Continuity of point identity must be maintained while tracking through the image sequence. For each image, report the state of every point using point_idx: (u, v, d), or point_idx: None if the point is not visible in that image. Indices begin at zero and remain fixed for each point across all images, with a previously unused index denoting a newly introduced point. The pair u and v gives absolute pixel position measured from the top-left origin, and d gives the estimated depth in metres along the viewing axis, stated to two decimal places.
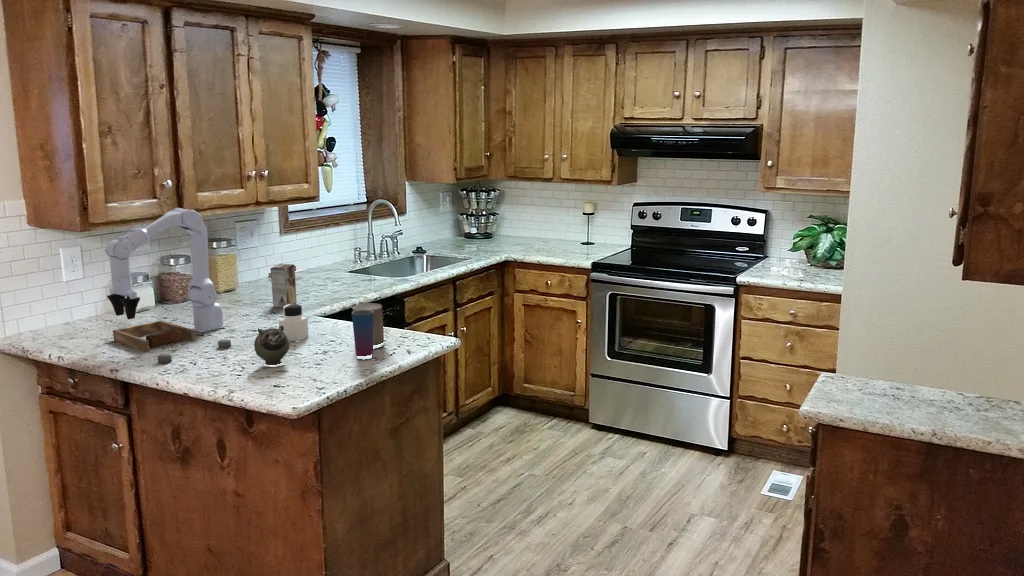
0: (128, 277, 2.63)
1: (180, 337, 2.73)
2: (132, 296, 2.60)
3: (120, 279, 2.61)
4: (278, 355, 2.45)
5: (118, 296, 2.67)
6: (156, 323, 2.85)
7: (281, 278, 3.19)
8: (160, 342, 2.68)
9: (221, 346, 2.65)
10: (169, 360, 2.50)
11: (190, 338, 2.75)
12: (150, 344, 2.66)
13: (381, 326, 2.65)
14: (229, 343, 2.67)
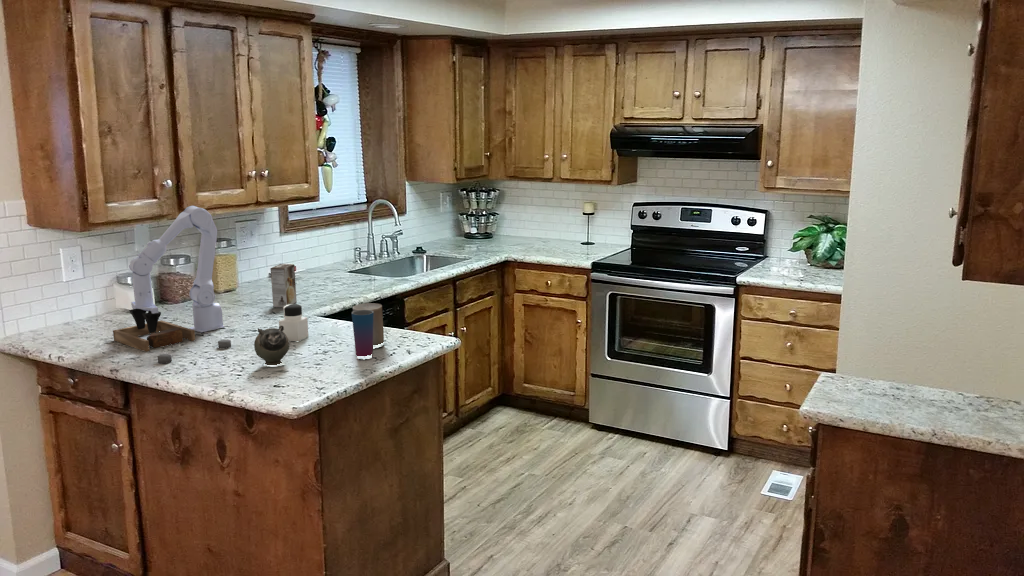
0: (150, 292, 2.74)
1: (181, 338, 2.73)
2: (154, 311, 2.71)
3: (142, 294, 2.72)
4: (278, 355, 2.45)
5: (140, 310, 2.78)
6: None
7: (281, 278, 3.19)
8: (161, 342, 2.67)
9: (221, 346, 2.65)
10: (169, 360, 2.50)
11: (190, 338, 2.75)
12: (151, 344, 2.66)
13: (381, 326, 2.65)
14: (229, 343, 2.67)
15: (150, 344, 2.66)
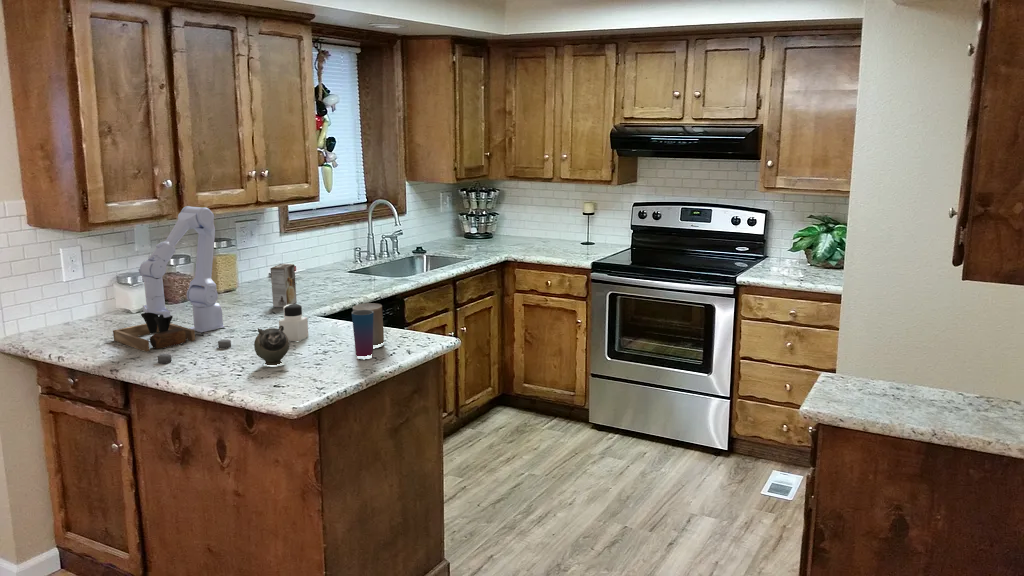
0: (161, 296, 2.69)
1: (184, 339, 2.71)
2: (166, 315, 2.66)
3: (153, 298, 2.67)
4: (278, 355, 2.45)
5: (152, 314, 2.73)
6: None
7: (281, 278, 3.19)
8: (164, 343, 2.66)
9: (221, 346, 2.65)
10: (169, 360, 2.50)
11: (190, 338, 2.75)
12: (154, 345, 2.64)
13: (381, 326, 2.65)
14: (229, 343, 2.67)
15: (153, 344, 2.65)
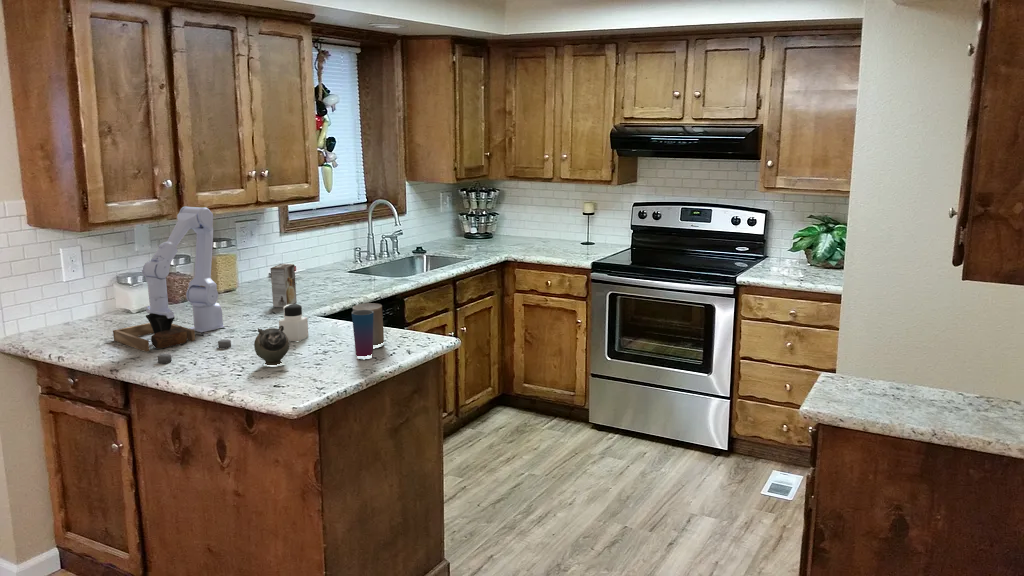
0: (165, 297, 2.68)
1: (185, 339, 2.71)
2: (169, 316, 2.65)
3: (157, 299, 2.66)
4: (278, 355, 2.45)
5: (156, 316, 2.72)
6: None
7: (281, 278, 3.19)
8: (165, 344, 2.66)
9: (221, 346, 2.65)
10: (169, 360, 2.50)
11: (190, 338, 2.75)
12: (155, 345, 2.64)
13: (381, 326, 2.65)
14: (229, 343, 2.67)
15: (154, 344, 2.64)
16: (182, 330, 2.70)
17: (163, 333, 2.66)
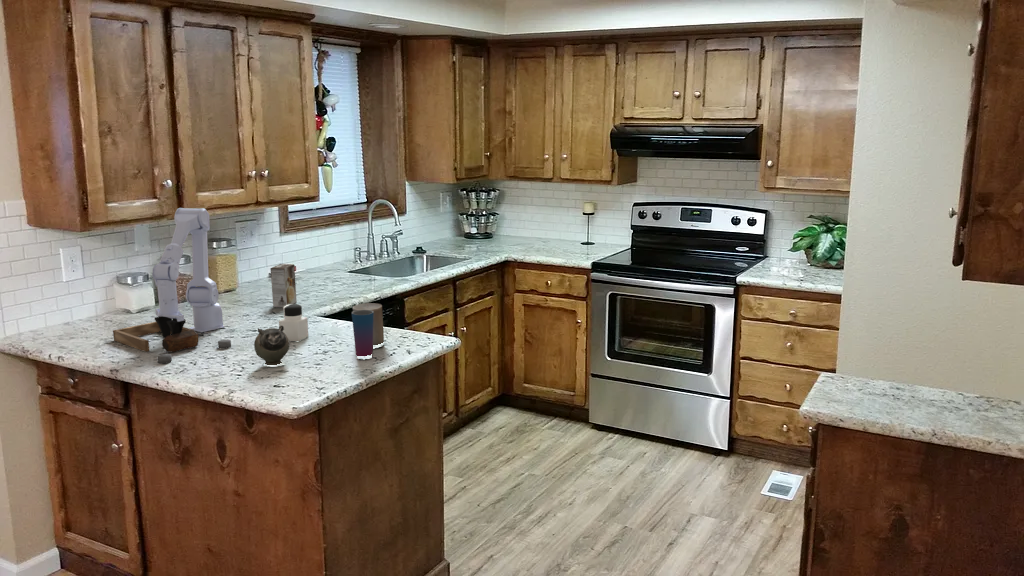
0: (175, 299, 2.64)
1: (196, 342, 2.67)
2: (179, 319, 2.61)
3: (167, 301, 2.62)
4: (278, 355, 2.45)
5: (165, 318, 2.68)
6: (156, 323, 2.85)
7: (281, 278, 3.19)
8: (176, 347, 2.62)
9: (221, 346, 2.65)
10: (169, 360, 2.50)
11: None
12: (166, 348, 2.60)
13: (381, 326, 2.65)
14: (229, 343, 2.67)
15: (165, 347, 2.60)
16: (193, 333, 2.66)
17: (174, 336, 2.61)
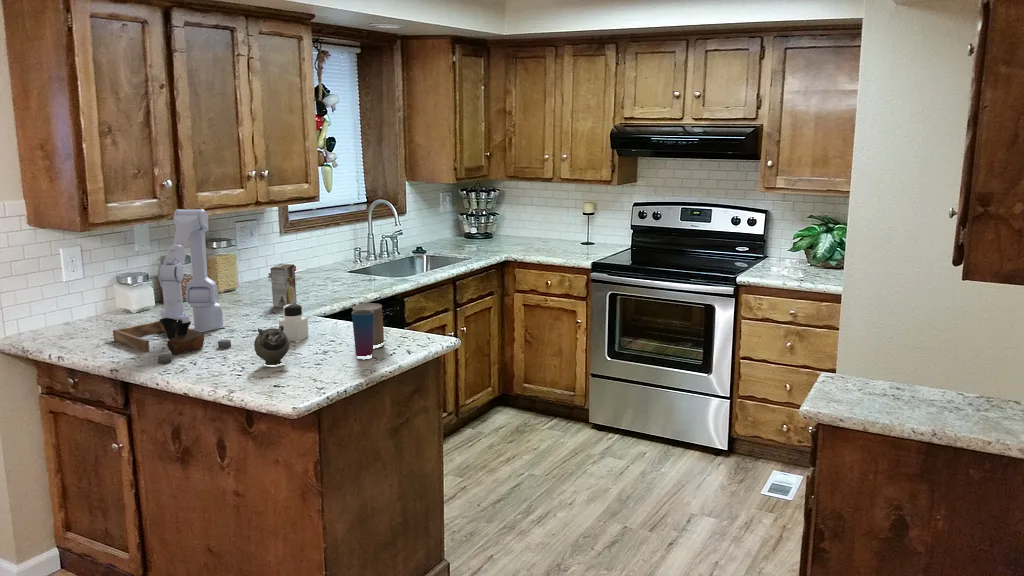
0: (180, 301, 2.62)
1: (202, 344, 2.65)
2: (185, 320, 2.59)
3: (172, 303, 2.60)
4: (278, 355, 2.45)
5: (170, 320, 2.66)
6: (156, 323, 2.85)
7: (281, 278, 3.19)
8: (181, 349, 2.60)
9: (221, 346, 2.65)
10: (169, 360, 2.50)
11: None
12: (171, 350, 2.58)
13: (381, 326, 2.65)
14: (229, 343, 2.67)
15: (170, 349, 2.58)
16: (199, 335, 2.64)
17: (180, 338, 2.60)
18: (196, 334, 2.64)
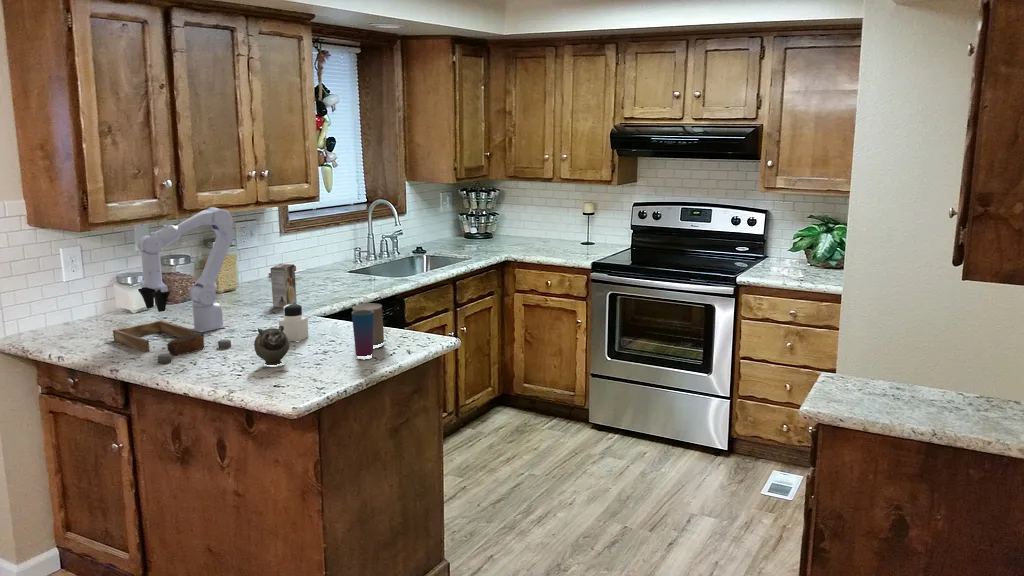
0: (159, 271, 2.73)
1: (202, 345, 2.65)
2: (163, 289, 2.71)
3: (151, 273, 2.72)
4: (278, 355, 2.45)
5: (148, 290, 2.78)
6: (156, 323, 2.85)
7: (281, 278, 3.19)
8: (182, 349, 2.59)
9: (221, 346, 2.65)
10: (169, 360, 2.50)
11: None
12: (172, 352, 2.58)
13: (381, 326, 2.65)
14: (229, 343, 2.67)
15: (171, 351, 2.58)
16: (198, 335, 2.64)
17: (179, 339, 2.60)
18: (195, 335, 2.65)
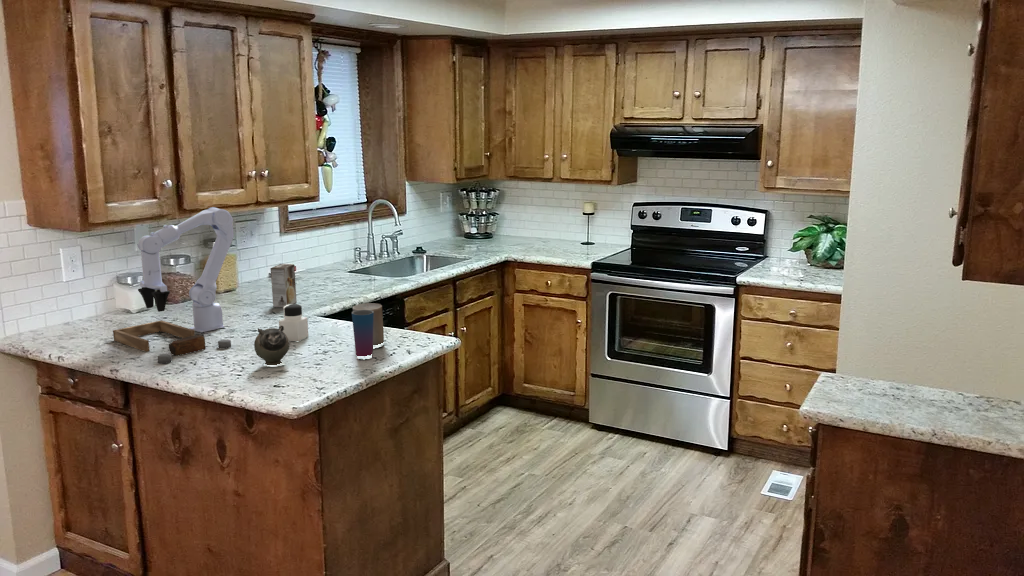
0: (158, 271, 2.74)
1: (203, 345, 2.64)
2: (163, 289, 2.71)
3: (151, 273, 2.72)
4: (278, 355, 2.45)
5: (148, 289, 2.78)
6: (156, 323, 2.85)
7: (281, 278, 3.19)
8: (184, 350, 2.59)
9: (221, 346, 2.65)
10: (169, 360, 2.50)
11: None
12: (173, 352, 2.57)
13: (381, 326, 2.65)
14: (229, 343, 2.67)
15: (172, 351, 2.58)
16: (199, 336, 2.64)
17: (180, 340, 2.60)
18: (196, 336, 2.64)
